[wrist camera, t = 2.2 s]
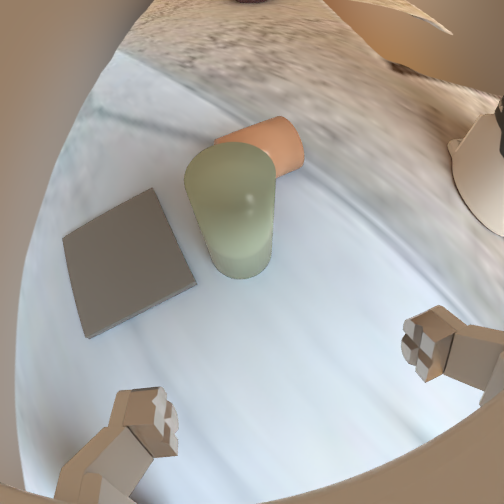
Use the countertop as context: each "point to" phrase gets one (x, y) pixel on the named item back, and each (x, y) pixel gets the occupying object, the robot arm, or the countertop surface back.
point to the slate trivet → (124, 264)
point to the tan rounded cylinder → (272, 142)
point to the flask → (250, 1)
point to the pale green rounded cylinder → (234, 205)
